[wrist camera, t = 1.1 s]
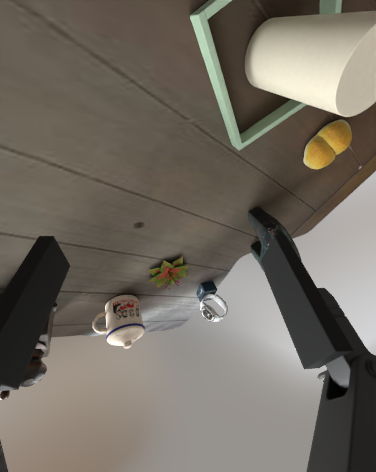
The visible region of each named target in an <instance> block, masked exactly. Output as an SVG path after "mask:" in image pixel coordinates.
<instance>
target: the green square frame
mask: <svg viewBox="0 0 376 472" xmlns="http://www.w3.org/2000/svg"><path fill="white" fill-rule="evenodd" d="M230 1H232V0H209V1H207V2H206V3H205V4H204V5H202V6H201V7H200V8H199V9H197V10H196V11H195V12H194V13H192V14H191V15H190V18H191V21H192V25H193V28H194V31H195V34H196V37H197V40H198V43H199V46H200V49H201V52H202V55H203V58H204V61H205V64H206V67H207V70H208V73H209V76H210V80H211V83H212V86H213V89H214V92H215V95H216V98H217V101H218V104H219V107H220V110H221V113H222V116H223V119H224V122H225V125H226V128H227V132H228V135H229V138H230V141H231V144H232V145H233V146H234V147H235V148H237V149H238V150H241V149H242V148H243V147H245V146H247V145H248V144H250V143H251V142H252V141H254V140H255V139H257V138H258V137H260V136H261V135H263V134H264V133H266V132H267V131H269V130H270V129H272V128H273V127H275V126H276V125H277V124H279V123H280V122H282V121H283V120H285V119H286V118H288V117H289V116H291V115H292V114H294V113H295V112H297V111H298V110H300V109H301V108H302V107H304V106H305V105H307V104H305V103H302V102H299V101H296V100H293V99H291V100H289V101H288V102H286V103H285V104H283V105H282V106H281V107H279V108H278V109H276V110H275V111H273V112H272V113H270V114H269V115H267V116H266V117H265V118H263V119H262V120H260V121H259V122H257V123H256V124H254V125H253V126H252V127H250V128H249V129H247V130H246V131H244V132H243V133H241V134H239V131H238V127H237V124H236V120H235V117H234V113H233V110H232V106H231V103H230V99H229V95H228V92H227V88H226V85H225V81H224V78H223V74H222V71H221V67H220V63H219V60H218V56H217V53H216V49H215V46H214V42H213V39H212V35H211V32H210V28H209V24H208V21H207V19H209V18H210V17H211V16H212V15H214V14H215V13H216V12H218V11H219V10H220V9H221V8H223V7H224V6H225V5H226V4H228V3H229V2H230ZM341 5H342V0H320V13H319V15H320V14H335V13H341Z"/></svg>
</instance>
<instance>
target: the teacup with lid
mask: <svg viewBox="0 0 376 472" xmlns="http://www.w3.org/2000/svg"><path fill="white" fill-rule="evenodd" d="M102 316H106V326H107V328H105V329H100V328H98V327H97V326H96V321H97V320H98V318H100V317H102ZM93 329H94V331H96V332H97V333H106V332H107V337H106V340H107V341H108V343H109V344H111V345H121V346H123V347H124V348H125V349H127V348H130V347H131V346H132V343H133V342H134V341H135V340H137V339H138V338H140V337H141V336H142V335H143V334H144V331H145V327H144V326H143V322H142V317H141V312H140V307H139V302H138V299H137V297H135V296H133V295H121V296H117V297H115V298H113V299H111V300H110V301H108V302H107V304H106V306H105V312H102V313H100V314H98V315H97V316H96V317H95V319H94V321H93Z"/></svg>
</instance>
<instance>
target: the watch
mask: <svg viewBox="0 0 376 472" xmlns="http://www.w3.org/2000/svg"><path fill="white" fill-rule="evenodd" d="M216 291H217V288H216V286H215V284H214V282H213V281H212V282H206V283H201V285H200V287H199V289H198V291H197V296H198V298H199V300H200V302H201V304H200V309H201V313H202V315H203V316H204V317H205V319H207V320H208V321H214V322H216V321H221V320H222V319H223V318H224V317H225V316H226V314H227V312H228V308H227V305H226V302H225V301H224V300H223V299H222V298H220V297H219V296H218V295H215V293H216ZM212 298H213V299H214V300H215V301H216V302H217V303H219V305H220V306H221V307H223V309H224V310H225V312H224V315H223V316H220V317H219V315H218V314H217V313H216V312H215V310H214V309H213V308H212V307H211V306H208V305H206V304H205V303H203V301H206V300H211V299H212Z"/></svg>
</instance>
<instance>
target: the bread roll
mask: <svg viewBox="0 0 376 472" xmlns="http://www.w3.org/2000/svg"><path fill="white" fill-rule="evenodd" d="M351 132H352V131H351V129H350V126H349V124H348V123H347V122H346V121H345V120H341V119H340V120H336V121H334V122H331V123H329V124H327V125H326V126H324V127H323V128H322V129H321V130H320V131H319V132H318V133H317V135H316V136H314V137H313V138H312V139H311V140H310V141H309V142H308V144H307V145H306V148H305V153H304V160H303V161H304V163H305V165H306V166H308V167H309V168H312V169H320V168H323V167H325V166H327V165H329V164H330V163H331V162H332V161H333V160H334V158H335V155H337V154H339V153H341V152H343V151H344V150H345V149H346V148H347V147H348V146H349V144H350V142H351V140H352V133H351Z"/></svg>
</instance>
